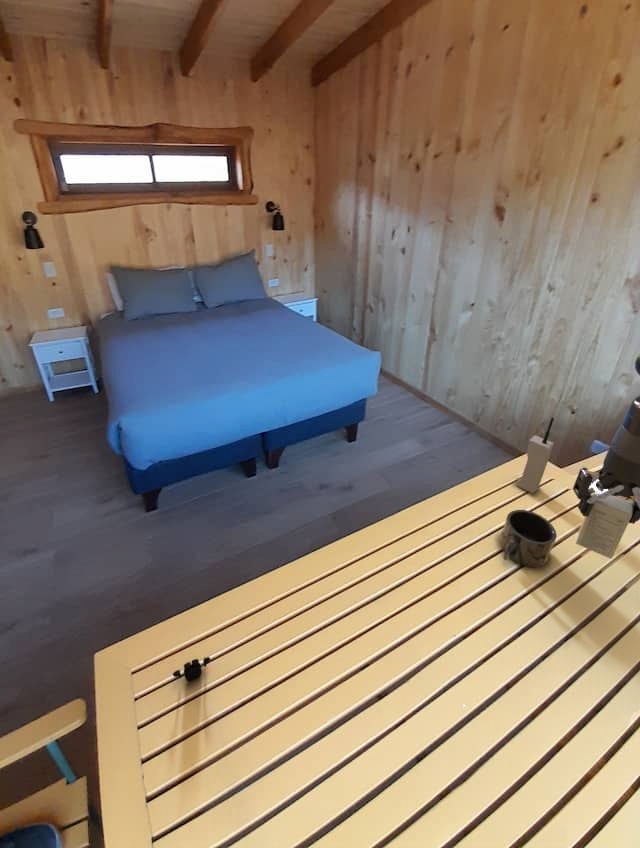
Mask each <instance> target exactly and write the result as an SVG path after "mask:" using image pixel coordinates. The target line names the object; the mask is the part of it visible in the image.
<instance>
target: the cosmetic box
mask: <svg viewBox="0 0 640 848" xmlns="http://www.w3.org/2000/svg"><path fill="white" fill-rule="evenodd" d="M594 493H595V492H594ZM594 493H593V494H594ZM633 502H634V501H632V500H628V499H626V498H624V497H621V496H612V495H610V496H608V497H607V498H605V499H602V498H601V499H599V500H597V501H595V502H594V505H593V507H592V509H591V512H590V514H589V516H588V517H586V516H583V520H582V522H581V525H580V527H579V530H578V532H577V535H576V538H575V544H576V545H578V546H580V547H583V548H585V549H587V550H589V551H591V552H593V553H597V554H599V555H601V556H603V557H606V558H607V559H610V560H612V559H613V557H614V555H615V552H616V550H617V548H618V546H619V545H620V542H621V540H622V537H623V536H624V533H625V531H626V529H627V527H628V525H629V524H630V523H629V521H630V519H631V516H632V513H633Z"/></svg>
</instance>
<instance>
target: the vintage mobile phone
mask: <svg viewBox="0 0 640 848" xmlns="http://www.w3.org/2000/svg"><path fill="white" fill-rule="evenodd" d="M554 420H555V417H550V421H549V424H548V426H547V429H546V431H545V434H544V437H541V436H538V435H537V434H535V435H534V436H532V437H531V438H530V439H529V442H528V447H527V452H526V456H527V460H526V463H525V466H524V469H523V472H522V475H521V476H520V477H519V479H518V480H516V482H515V486H517V487H518V488H521V489H523V490H525V491H527V493H531V494H534V493H535V492H536V491H537V490H538V489H539V487H540V484H541V481H542V479H543V476H544V473H545V470H546V468H547V465H548V463H549V459H550V456H551V454H552V451H553V448H554V445H555V443H554V442H553V441H550V440H548V439H549V436H550V432H551V428H552V425H553V423H554Z"/></svg>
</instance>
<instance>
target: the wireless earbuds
mask: <svg viewBox="0 0 640 848" xmlns="http://www.w3.org/2000/svg"><path fill="white" fill-rule="evenodd" d="M210 661H211V657H210V656H207V657H204V658H203V659H202V662H203V666H204V668H207V667H208V666H207V664H209V663H210ZM202 674H203V671H202V665H201V663H200V662H199V659H198V658H194V659H192V660H191V661H187V662H186V663H184V664H183V676H184V678H185V681H186V682H191V681H193V680H195V679H198V678H200V677H201V676H202ZM172 676H173V677H174V678H179V679H182V673H181V670H180V669H177V670H175V671H173V672H172Z"/></svg>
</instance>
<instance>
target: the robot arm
mask: <svg viewBox="0 0 640 848" xmlns="http://www.w3.org/2000/svg"><path fill="white" fill-rule="evenodd" d="M634 369H635V371H636V373H637V374H638V376H640V353H639V354H638V355H637V357H636V359H635V361H634ZM602 463H603V464H602V468H600V469H599V470H598V471H593V470H592V471H591V470H588V468H587V467H580V469H579V471H578V474H577V476H576V479H575V481H574V484H573V487H572V491H573V492H574V494H575V496H576V498H577V499H578V500H579V502H578V505H577V508H578V511H579V512H580V514H581V515H582V517H585V516H586V517H588V516H589V514H590V512H591V509H592V507H593V505H594V502H595V501H597V500H599V499H601V498H602V499H605V498H607V497H608V496H610V495H612V496H617V497H622V498H625V499H626V498H627V499H630V498H632V500H633V501H632V502H633V513H632V516H631V519H630V521H629V523H628V524H632V525H634V524H636V522H638V521H640V395H638V396H636V397H634V398H633V399H632V401H631V403H630V405H629V407H628V409H627V411H626V414H625V415H624V418H623V419H622V422H621V424H620V426H619V427H618V429H617V430H616V432H615V434H614V436H613V438H612V440H611V443H610V445H609V448H608V450H607V452H606V455H605V457H604V460H603V462H602ZM601 487H602V488H603V490H602V488H601ZM594 492H595V493H594Z"/></svg>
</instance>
